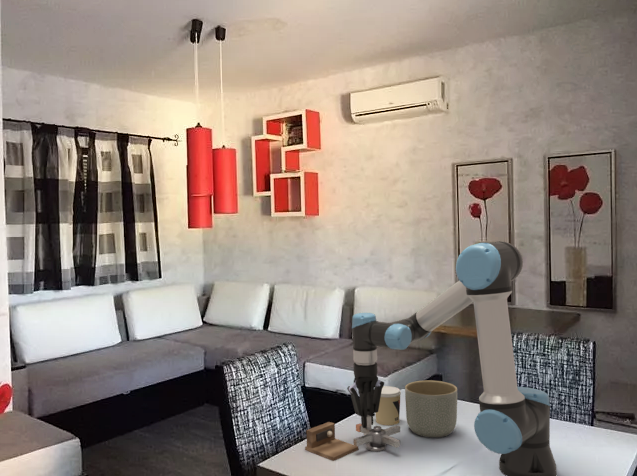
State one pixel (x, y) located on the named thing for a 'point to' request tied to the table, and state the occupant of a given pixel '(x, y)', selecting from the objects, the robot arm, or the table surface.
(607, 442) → the table surface
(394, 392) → the coffee cup
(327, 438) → the stand
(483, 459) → the table surface
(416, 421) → the planter
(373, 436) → the silver cross-shaped piece
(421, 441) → the table surface
